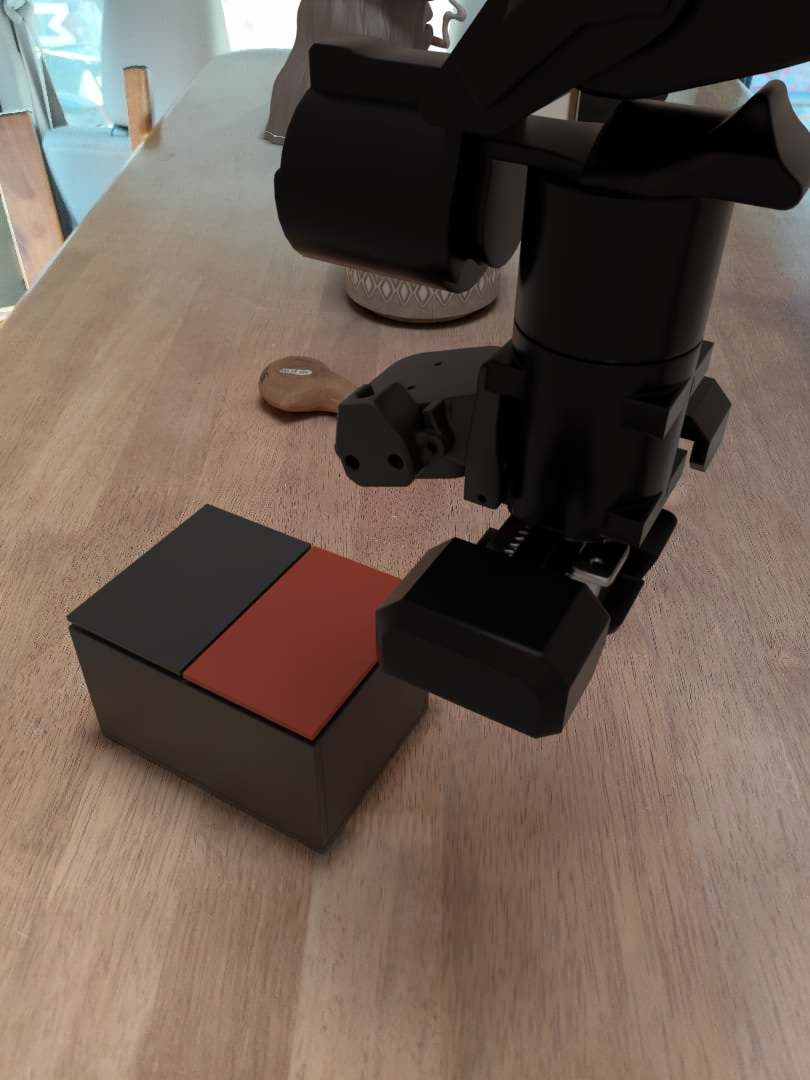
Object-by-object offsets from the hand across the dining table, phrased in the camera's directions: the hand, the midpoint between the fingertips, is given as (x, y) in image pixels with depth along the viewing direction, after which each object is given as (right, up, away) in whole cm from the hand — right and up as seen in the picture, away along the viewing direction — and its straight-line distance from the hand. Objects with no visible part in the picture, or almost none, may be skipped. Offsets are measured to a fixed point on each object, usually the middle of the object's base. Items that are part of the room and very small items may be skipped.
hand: (551, 671), depth 37 cm
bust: (-13, +73, +110) cm, 133 cm away
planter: (-4, +31, +59) cm, 67 cm away
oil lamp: (-14, +17, +41) cm, 47 cm away
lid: (-11, +1, +7) cm, 13 cm away
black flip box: (-14, -5, +14) cm, 21 cm away
